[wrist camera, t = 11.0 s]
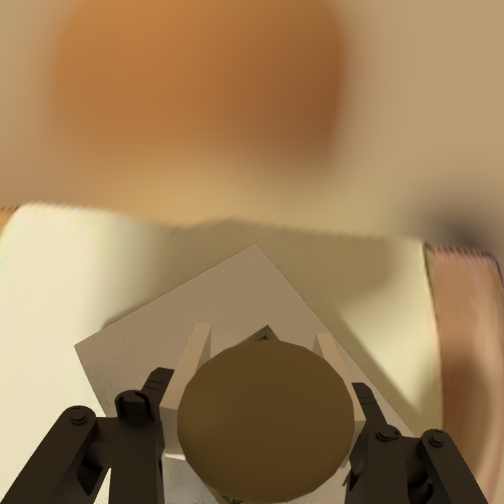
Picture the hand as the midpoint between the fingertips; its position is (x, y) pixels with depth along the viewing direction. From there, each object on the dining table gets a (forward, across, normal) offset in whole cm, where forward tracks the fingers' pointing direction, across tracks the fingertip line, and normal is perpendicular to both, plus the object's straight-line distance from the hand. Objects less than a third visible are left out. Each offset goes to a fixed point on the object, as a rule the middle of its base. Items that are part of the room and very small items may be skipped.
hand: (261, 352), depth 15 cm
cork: (0, 0, -5) cm, 5 cm away
